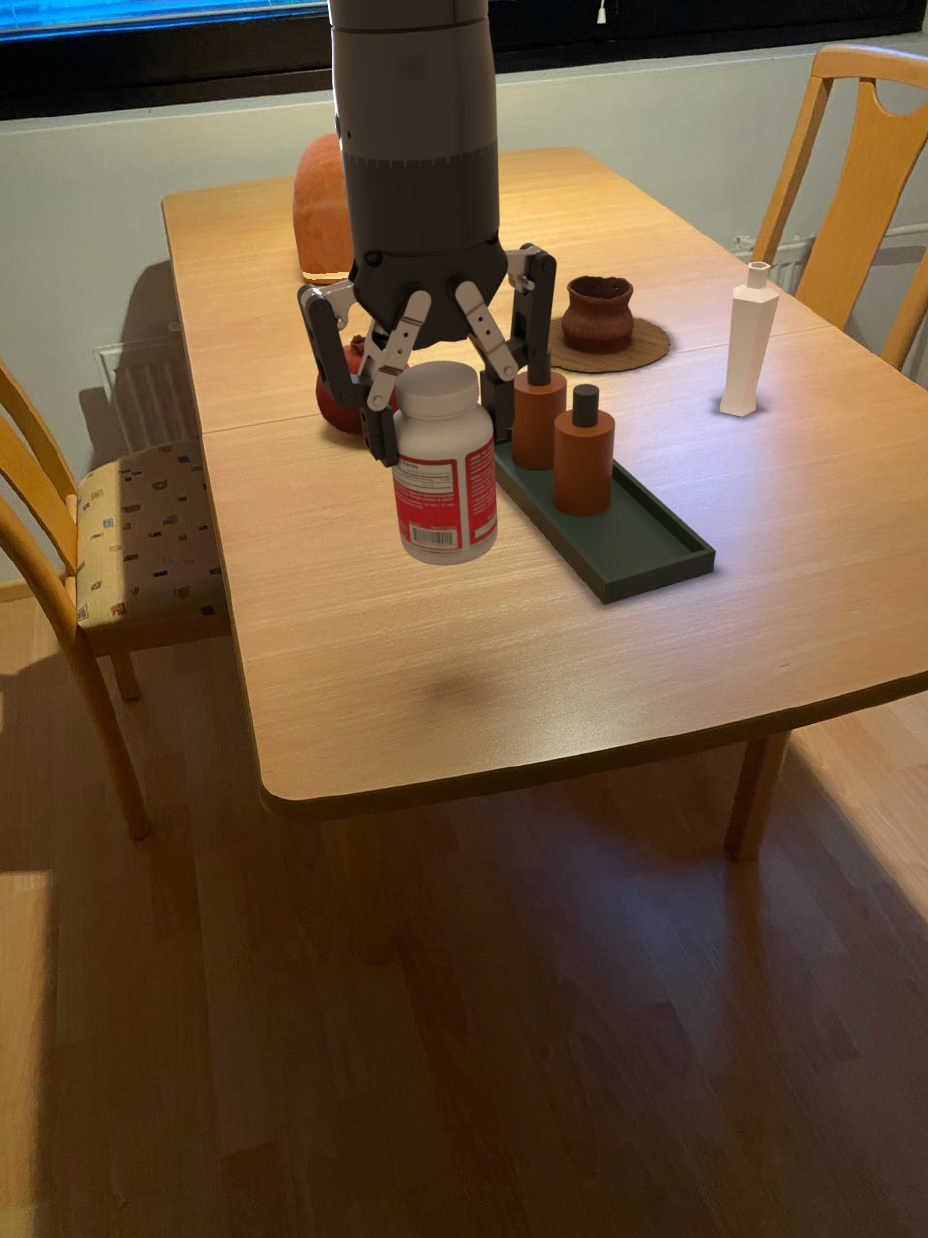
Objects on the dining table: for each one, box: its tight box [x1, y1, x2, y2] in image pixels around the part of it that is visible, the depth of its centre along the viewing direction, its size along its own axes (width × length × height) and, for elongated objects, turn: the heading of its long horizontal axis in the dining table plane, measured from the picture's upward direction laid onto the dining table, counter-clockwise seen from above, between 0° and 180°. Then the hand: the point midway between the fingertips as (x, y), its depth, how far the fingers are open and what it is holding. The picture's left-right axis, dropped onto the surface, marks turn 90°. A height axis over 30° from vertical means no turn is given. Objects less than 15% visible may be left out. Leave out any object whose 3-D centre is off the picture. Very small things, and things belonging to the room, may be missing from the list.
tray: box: [494, 428, 717, 605], centre depth 85 cm, size 10×27×2 cm, turn 22°
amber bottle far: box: [512, 348, 568, 470], centre depth 88 cm, size 5×5×11 cm
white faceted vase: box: [719, 261, 781, 418], centre depth 94 cm, size 5×4×15 cm
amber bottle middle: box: [553, 383, 616, 516], centre depth 82 cm, size 5×5×11 cm
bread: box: [292, 132, 354, 285], centre depth 138 cm, size 14×26×16 cm, turn 4°
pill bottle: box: [391, 360, 499, 567], centre depth 55 cm, size 6×6×11 cm
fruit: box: [315, 334, 411, 437], centre depth 95 cm, size 11×10×10 cm
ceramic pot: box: [548, 275, 672, 373], centre depth 111 cm, size 18×18×7 cm
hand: (442, 446), depth 55 cm, fingers closed on pill bottle, 6 cm apart
